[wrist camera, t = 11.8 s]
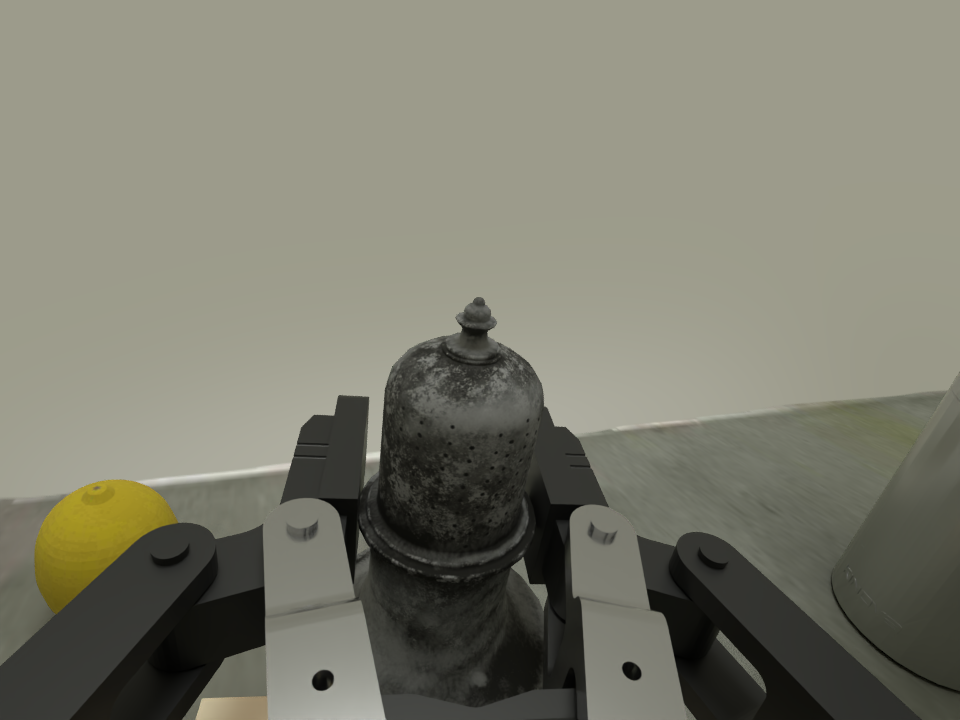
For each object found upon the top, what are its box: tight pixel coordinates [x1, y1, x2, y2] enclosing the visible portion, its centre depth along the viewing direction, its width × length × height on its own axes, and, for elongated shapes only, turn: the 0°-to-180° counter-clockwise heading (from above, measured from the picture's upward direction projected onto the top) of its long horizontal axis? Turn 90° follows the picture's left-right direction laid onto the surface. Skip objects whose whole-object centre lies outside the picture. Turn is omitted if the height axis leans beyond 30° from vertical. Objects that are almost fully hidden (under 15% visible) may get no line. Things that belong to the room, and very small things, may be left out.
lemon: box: [34, 480, 178, 614], centre depth 25 cm, size 6×6×8 cm
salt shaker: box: [353, 297, 544, 708], centre depth 12 cm, size 6×6×12 cm
